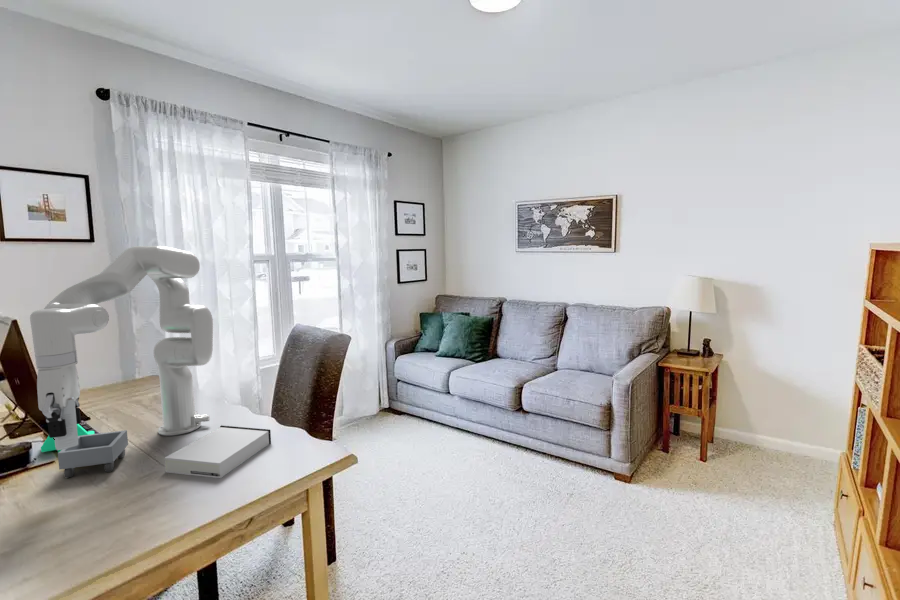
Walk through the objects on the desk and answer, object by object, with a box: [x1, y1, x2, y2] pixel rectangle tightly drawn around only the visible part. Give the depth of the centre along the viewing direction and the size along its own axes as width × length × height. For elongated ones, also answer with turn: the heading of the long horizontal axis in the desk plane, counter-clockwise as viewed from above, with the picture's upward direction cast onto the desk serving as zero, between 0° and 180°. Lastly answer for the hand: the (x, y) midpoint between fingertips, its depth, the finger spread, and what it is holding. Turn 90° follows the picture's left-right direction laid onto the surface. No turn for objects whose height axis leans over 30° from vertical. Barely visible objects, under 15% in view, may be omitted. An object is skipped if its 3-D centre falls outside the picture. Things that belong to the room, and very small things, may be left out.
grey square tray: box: [57, 429, 129, 479], centre depth 126 cm, size 12×12×8 cm
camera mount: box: [40, 423, 96, 453], centre depth 140 cm, size 12×8×10 cm, turn 123°
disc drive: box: [164, 425, 272, 479], centre depth 132 cm, size 18×22×5 cm
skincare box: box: [52, 397, 78, 451], centre depth 110 cm, size 6×4×12 cm
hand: (65, 429), depth 111 cm, fingers closed on skincare box, 7 cm apart
